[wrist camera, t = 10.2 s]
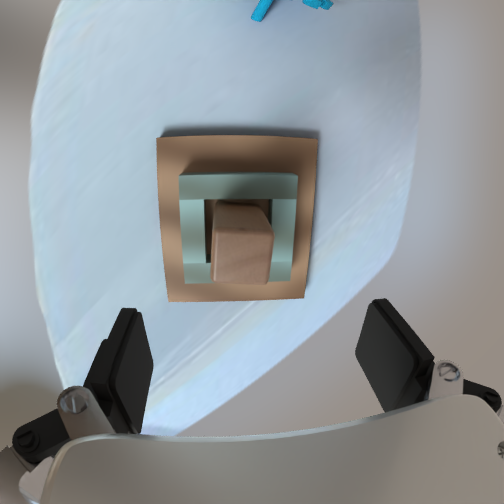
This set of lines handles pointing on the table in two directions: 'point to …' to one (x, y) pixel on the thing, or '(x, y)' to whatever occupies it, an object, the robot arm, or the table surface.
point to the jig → (234, 190)
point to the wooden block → (241, 244)
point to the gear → (264, 3)
